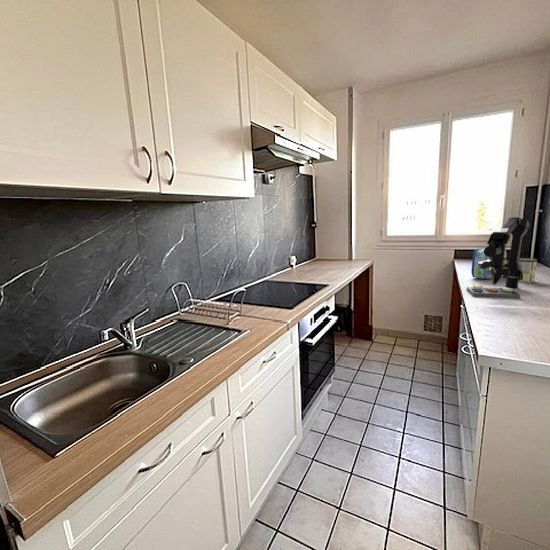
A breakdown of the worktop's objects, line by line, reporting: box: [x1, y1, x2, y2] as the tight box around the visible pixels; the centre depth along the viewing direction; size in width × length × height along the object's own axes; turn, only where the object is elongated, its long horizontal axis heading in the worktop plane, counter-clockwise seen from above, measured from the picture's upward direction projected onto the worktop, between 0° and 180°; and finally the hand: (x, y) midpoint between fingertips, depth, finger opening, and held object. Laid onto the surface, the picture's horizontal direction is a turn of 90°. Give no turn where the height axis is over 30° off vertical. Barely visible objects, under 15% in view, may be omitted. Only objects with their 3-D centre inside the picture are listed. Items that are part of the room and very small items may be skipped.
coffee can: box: [518, 257, 538, 283], centre depth 198 cm, size 10×10×14 cm
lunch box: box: [471, 247, 508, 280], centre depth 210 cm, size 26×11×21 cm, turn 118°
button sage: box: [502, 287, 514, 292], centre depth 166 cm, size 4×4×3 cm
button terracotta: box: [486, 286, 498, 292], centre depth 168 cm, size 4×4×3 cm
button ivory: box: [472, 284, 483, 291], centre depth 170 cm, size 4×4×3 cm
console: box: [466, 286, 522, 300], centre depth 168 cm, size 14×21×3 cm, turn 72°
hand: (494, 283), depth 167 cm, fingers closed
